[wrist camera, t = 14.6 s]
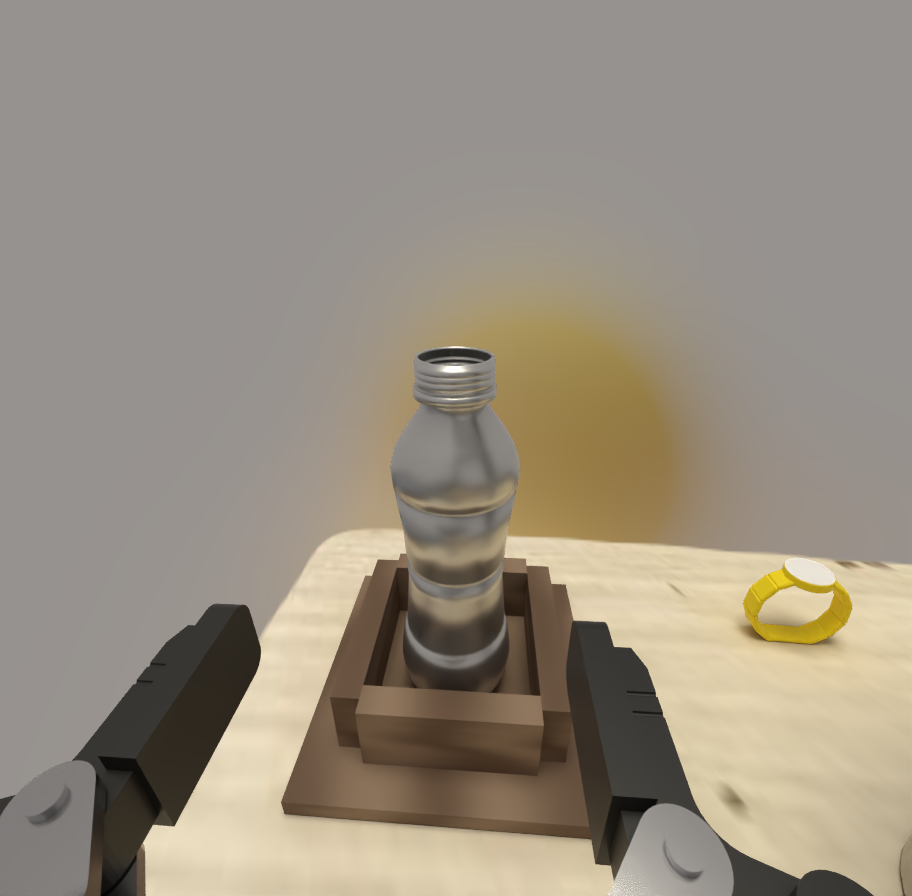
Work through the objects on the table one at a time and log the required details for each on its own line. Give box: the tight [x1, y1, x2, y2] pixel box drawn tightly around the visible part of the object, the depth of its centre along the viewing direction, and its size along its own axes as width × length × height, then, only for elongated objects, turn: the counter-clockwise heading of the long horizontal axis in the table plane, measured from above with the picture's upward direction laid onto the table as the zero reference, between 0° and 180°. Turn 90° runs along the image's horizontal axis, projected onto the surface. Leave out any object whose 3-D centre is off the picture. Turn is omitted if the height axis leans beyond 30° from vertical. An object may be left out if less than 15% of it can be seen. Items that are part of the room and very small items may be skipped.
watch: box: [743, 558, 852, 644], centre depth 30 cm, size 6×3×6 cm, turn 83°
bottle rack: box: [281, 554, 591, 839], centre depth 27 cm, size 16×16×5 cm
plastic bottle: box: [390, 347, 520, 693], centre depth 24 cm, size 6×7×20 cm
